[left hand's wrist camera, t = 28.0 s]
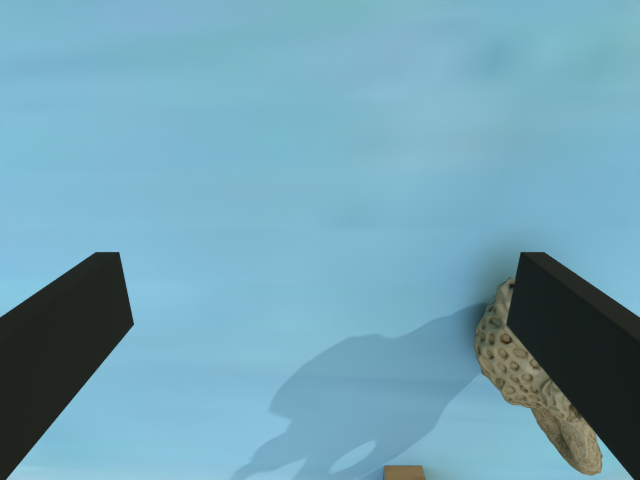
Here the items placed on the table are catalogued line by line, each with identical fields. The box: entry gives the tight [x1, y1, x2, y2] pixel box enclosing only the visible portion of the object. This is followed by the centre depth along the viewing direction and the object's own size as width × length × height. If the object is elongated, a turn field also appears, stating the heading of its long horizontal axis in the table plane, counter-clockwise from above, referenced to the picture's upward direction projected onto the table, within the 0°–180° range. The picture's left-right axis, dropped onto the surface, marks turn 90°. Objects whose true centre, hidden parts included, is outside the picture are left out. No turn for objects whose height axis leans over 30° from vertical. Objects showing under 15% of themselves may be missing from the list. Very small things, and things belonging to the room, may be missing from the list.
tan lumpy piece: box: [474, 277, 603, 476], centre depth 38 cm, size 21×12×15 cm, turn 24°
